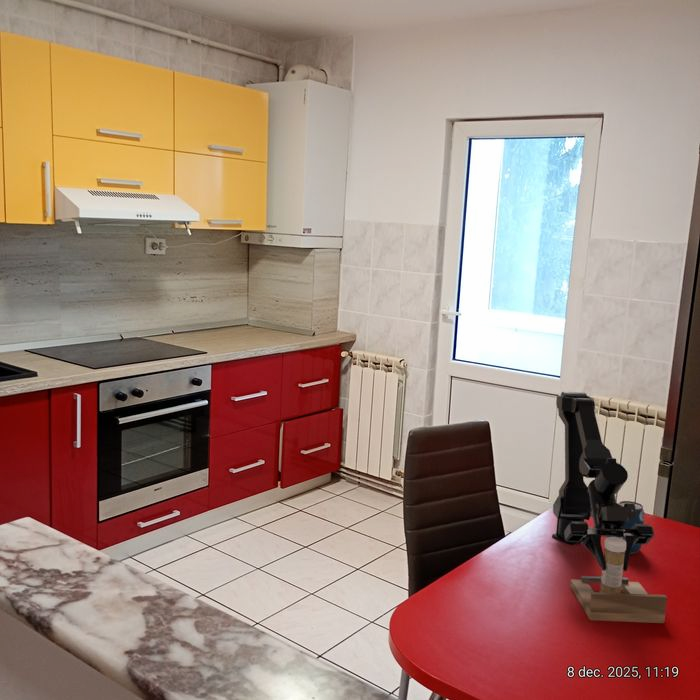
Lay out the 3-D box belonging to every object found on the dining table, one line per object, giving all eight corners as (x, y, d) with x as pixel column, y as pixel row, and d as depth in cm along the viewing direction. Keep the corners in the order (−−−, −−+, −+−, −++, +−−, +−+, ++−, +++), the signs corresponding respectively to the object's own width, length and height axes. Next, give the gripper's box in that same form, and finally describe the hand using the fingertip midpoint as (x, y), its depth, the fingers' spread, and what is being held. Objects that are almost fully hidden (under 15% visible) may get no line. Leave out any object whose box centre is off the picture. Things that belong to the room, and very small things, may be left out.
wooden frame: (570, 586, 173) (572, 562, 172) (637, 589, 173) (640, 565, 172) (590, 620, 159) (592, 594, 158) (664, 623, 159) (667, 597, 158)
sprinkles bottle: (601, 590, 172) (606, 534, 169) (622, 595, 169) (628, 538, 167) (597, 598, 168) (603, 541, 165) (618, 604, 166) (624, 546, 163)
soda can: (646, 551, 195) (651, 507, 193) (628, 556, 191) (633, 511, 189) (624, 541, 201) (628, 498, 199) (606, 546, 197) (610, 502, 195)
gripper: (572, 487, 168) (582, 555, 159) (656, 490, 168) (671, 559, 159) (559, 507, 178) (568, 573, 169) (639, 510, 178) (652, 576, 169)
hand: (615, 570), depth 166 cm, fingers open, 4 cm apart
